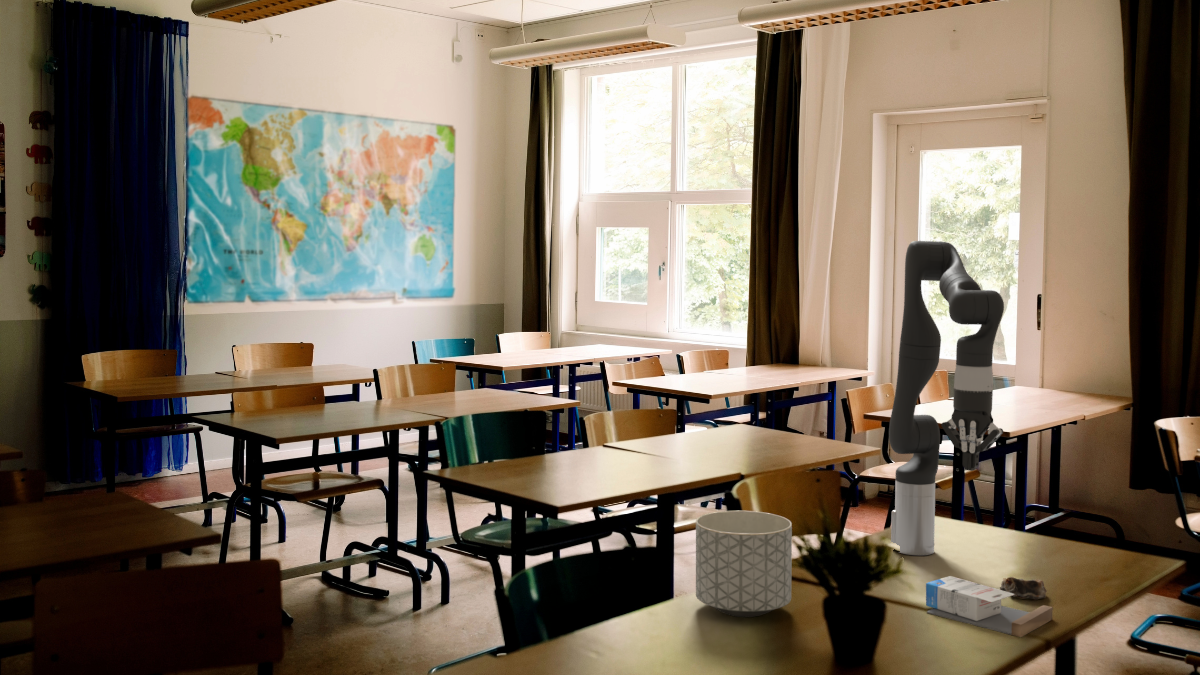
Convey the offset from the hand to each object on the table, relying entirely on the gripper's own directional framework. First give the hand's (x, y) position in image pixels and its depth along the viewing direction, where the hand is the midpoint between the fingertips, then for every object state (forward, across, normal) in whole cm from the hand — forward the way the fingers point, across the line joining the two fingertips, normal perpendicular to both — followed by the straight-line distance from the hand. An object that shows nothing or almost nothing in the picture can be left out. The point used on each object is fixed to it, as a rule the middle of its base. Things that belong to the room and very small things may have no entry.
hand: (970, 469), depth 209 cm
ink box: (+24, -2, -9) cm, 26 cm away
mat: (+26, +8, -8) cm, 29 cm away
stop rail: (+26, +18, -8) cm, 33 cm away
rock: (+27, +8, +9) cm, 30 cm away
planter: (+27, -26, -41) cm, 56 cm away
